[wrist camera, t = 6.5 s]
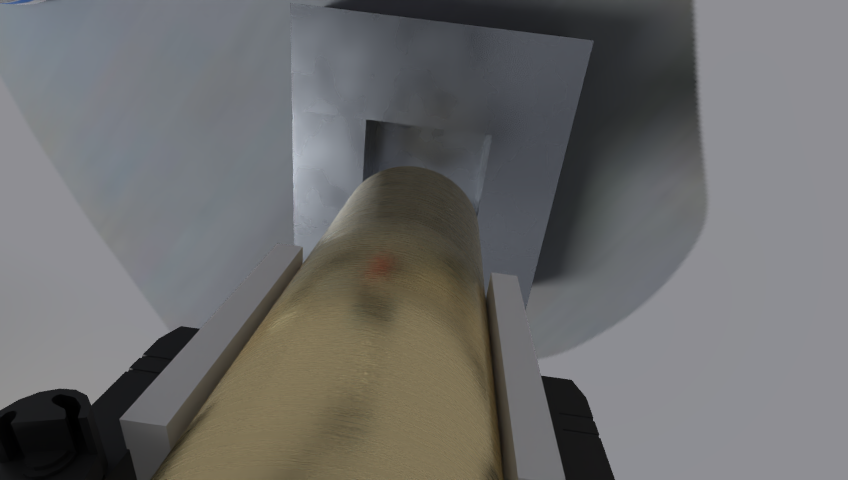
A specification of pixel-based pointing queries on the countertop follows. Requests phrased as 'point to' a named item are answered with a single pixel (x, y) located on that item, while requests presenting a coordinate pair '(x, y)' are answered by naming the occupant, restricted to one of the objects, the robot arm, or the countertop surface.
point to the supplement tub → (21, 2)
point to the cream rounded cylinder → (364, 354)
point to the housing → (433, 120)
